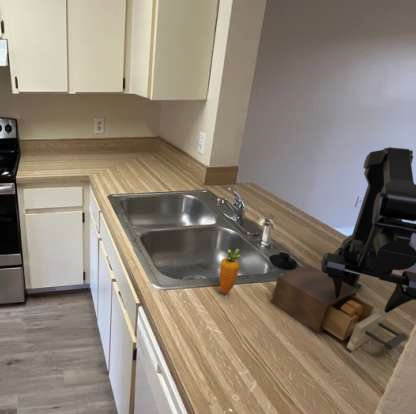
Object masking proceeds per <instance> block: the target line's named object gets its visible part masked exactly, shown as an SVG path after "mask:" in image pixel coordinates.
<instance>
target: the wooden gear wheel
mask: <svg viewBox="0 0 416 414" xmlns="http://www.w3.org/2000/svg"><path fill="white" fill-rule="evenodd" d="M340 309H341V310H340V312H342V313H344V314H345V315H347V316H349V317H350V318H352V322H351V324H353V323H354V322H356V321H357V320H358V319H359V317H360V315H361V314H362V311H363V307H362V305H360V304H358V303H357V302H355V301H353V300H350V301H348V302H347V303H346V304H344V305H343V306H342V307H341V308H340ZM351 324H350V325H351Z"/></svg>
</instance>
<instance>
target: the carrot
mask: <svg viewBox="0 0 416 414" xmlns="http://www.w3.org/2000/svg"><path fill="white" fill-rule="evenodd" d="M239 251H240V249H239V248H236V249H235V251H234V253H232V250H231V249H227V257H226V258H223V259H221V261H220V267H219V268H220V269H219V286H220V290H221V292H222V294H223V295H227V294H228V293H229V292H230V291H231V290H232V289H233V287H234V286H235V284H236V282H237V279H238V274H239V272H240V271H239V270H240V262H239V261H238V260H237V259H238V258H242V255H241V254H238V253H239Z"/></svg>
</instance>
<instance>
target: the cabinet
mask: <svg viewBox="0 0 416 414" xmlns="http://www.w3.org/2000/svg"><path fill="white" fill-rule="evenodd" d="M358 290H359V288H358V289H356V288H354V287H352V286H350V285H348V284H346V283H344V282H342V287H341V291H340V295H339V297H338V299H337V298H336V294H335V285H334V282H333V279H332V278H330V277H328V276H327V274H326V273H324V272H322V269H319V268H317V267H315V266H313V265H311V264H309V263H307V264H304V265H301V266H300V267H298V268H295V269H293V270H290V271H288V272H285V273H282V274H281V275H278V276H277V279H276V283H275V287H274V290H273V294H272V299H271V301H270V303H271V304H273V305H274V306H275V307H277V308H278V309H279V310H281V311H283V312H284V313H286V314H287V315H289V316H290V317H292V318H293V319H295V320H296V321H298V322H300V323H301V324H302V325H303V326H304V327H307V328H309V329H310V330H311V331H312V332H313V333H316V334H319V333H321V332H323V331H324V330H325V329H324V328H322V324H323V321H324V318H325V315H326V313H327V310H328V307H329V306H331V305H333V304H335V303H337V302H339V301H341V300H343V299H345V298H347V297H349V296H351V295H354V296H356V297H357V293H358ZM325 331H326V330H325Z"/></svg>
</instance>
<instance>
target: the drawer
mask: <svg viewBox="0 0 416 414" xmlns="http://www.w3.org/2000/svg"><path fill="white" fill-rule="evenodd" d="M350 300H353V301H355V302H357V303H358V304H360V305H362V307H363V311H362V314H361V315H360V317H359V319H358V320H357V321H356V322H354V323H353V324H351V322H352V318H350V317H349V316H347V315H345V314H344V313H342V312H340V310H341V309H340V308H341V307H342V306H343V305H344V304H346V303H347V302H348V301H350ZM374 309H375V305H373V304H371V303H369V302H367V301H365V300H364V299H362V298H360V297H358V296H357V295H356V296H354V295H351V296H349V297H347V298H345V299H343V300H341V301H339V302H337V303H335V304H333V305H331V306H329V307H328V310H327V313H326V315H325V318H324V321H323V324H322V328H324V329H325V331H327V332H328V333H330V334H331V335H333V336H334V337H336V338H338V340H341V341H344V340H346V339H348V338H349V341H348V343H347V345H346V348H347V349H348V350H350V351H351V352H353V351H355V350H357V348H359V347H361V346H362V345H364V344H366V343H367V342H369V341H370V340H372V339H373V340H375V341H376V342H379V343H380V344H382V345H383V346H384V349H386V350H387V351H392V350H393V349H395V348H396V347H398V346H399V345H401V344H402V343H404V342H405V341H406V340H408V336H407V334H406V333H404V332H401V333H400V332H398V331H396V330H394V329H392V328H390V327H389V326H387V325H385V323H386V320H387V318H388V316H389V314H390V312H388V313H386V312H385V308H384V307H383V308H381V309H380V310H378V311H376V312H374ZM373 312H374V313H373ZM350 324H351V325H350ZM382 330H386V331H387V332H389V333H391V334H393V335H394V336H395V337H393V338H391V339H390V340H388V341H386V340H383V339H382V338H381V337H378V335H380V333H381V331H382Z"/></svg>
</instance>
